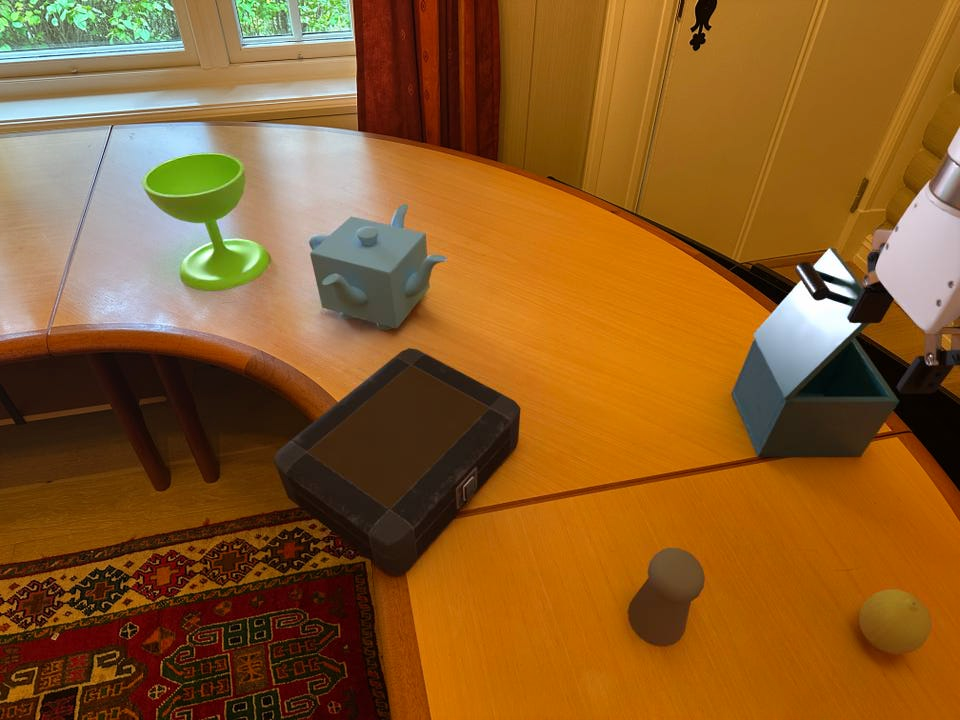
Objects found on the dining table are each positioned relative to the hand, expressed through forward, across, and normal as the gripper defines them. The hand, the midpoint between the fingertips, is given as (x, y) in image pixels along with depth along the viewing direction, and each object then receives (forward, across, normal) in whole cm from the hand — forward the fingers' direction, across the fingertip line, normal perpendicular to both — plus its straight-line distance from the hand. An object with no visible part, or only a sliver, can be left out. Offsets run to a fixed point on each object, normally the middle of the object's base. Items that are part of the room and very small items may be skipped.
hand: (887, 354), depth 57 cm
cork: (+26, -14, +20) cm, 35 cm away
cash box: (+25, +6, +48) cm, 54 cm away
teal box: (+25, +13, -5) cm, 29 cm away
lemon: (+26, -16, -2) cm, 30 cm away
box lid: (+7, +13, -1) cm, 15 cm away
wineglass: (+25, +52, +86) cm, 103 cm away
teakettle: (+25, +40, +55) cm, 72 cm away
